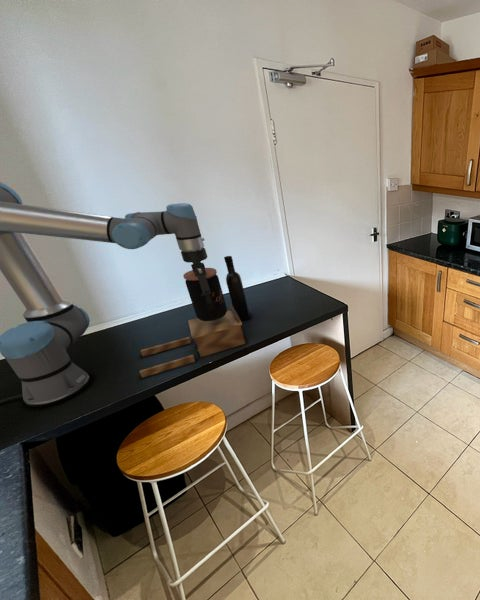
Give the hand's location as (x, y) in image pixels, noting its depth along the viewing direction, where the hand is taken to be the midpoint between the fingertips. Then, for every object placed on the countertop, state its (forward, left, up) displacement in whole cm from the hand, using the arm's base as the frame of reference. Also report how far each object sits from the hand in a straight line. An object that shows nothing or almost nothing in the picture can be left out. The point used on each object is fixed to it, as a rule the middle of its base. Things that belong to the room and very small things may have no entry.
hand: (209, 304), depth 121 cm
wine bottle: (+12, +17, -18) cm, 27 cm away
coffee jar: (0, 0, -5) cm, 5 cm away
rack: (-9, 0, -18) cm, 20 cm away
